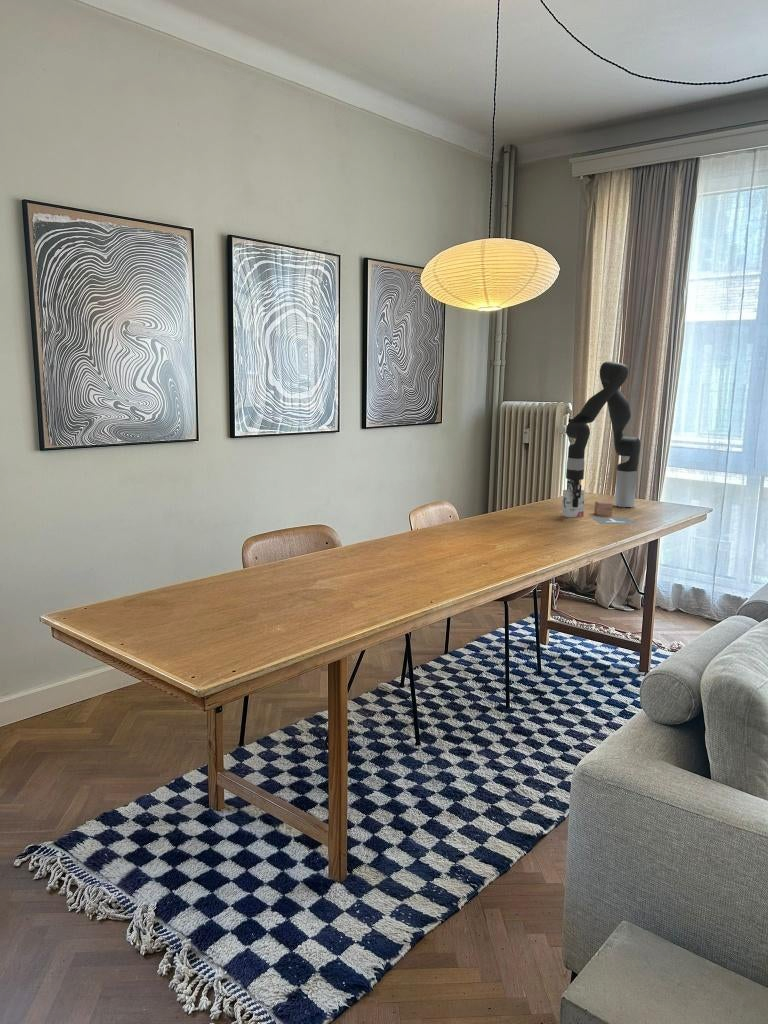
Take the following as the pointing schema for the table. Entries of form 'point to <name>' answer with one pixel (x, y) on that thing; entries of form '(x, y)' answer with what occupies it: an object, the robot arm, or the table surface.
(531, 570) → the table surface
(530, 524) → the table surface
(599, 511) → the painted cube
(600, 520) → the letter card
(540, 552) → the table surface
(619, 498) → the robot arm
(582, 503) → the ink box
